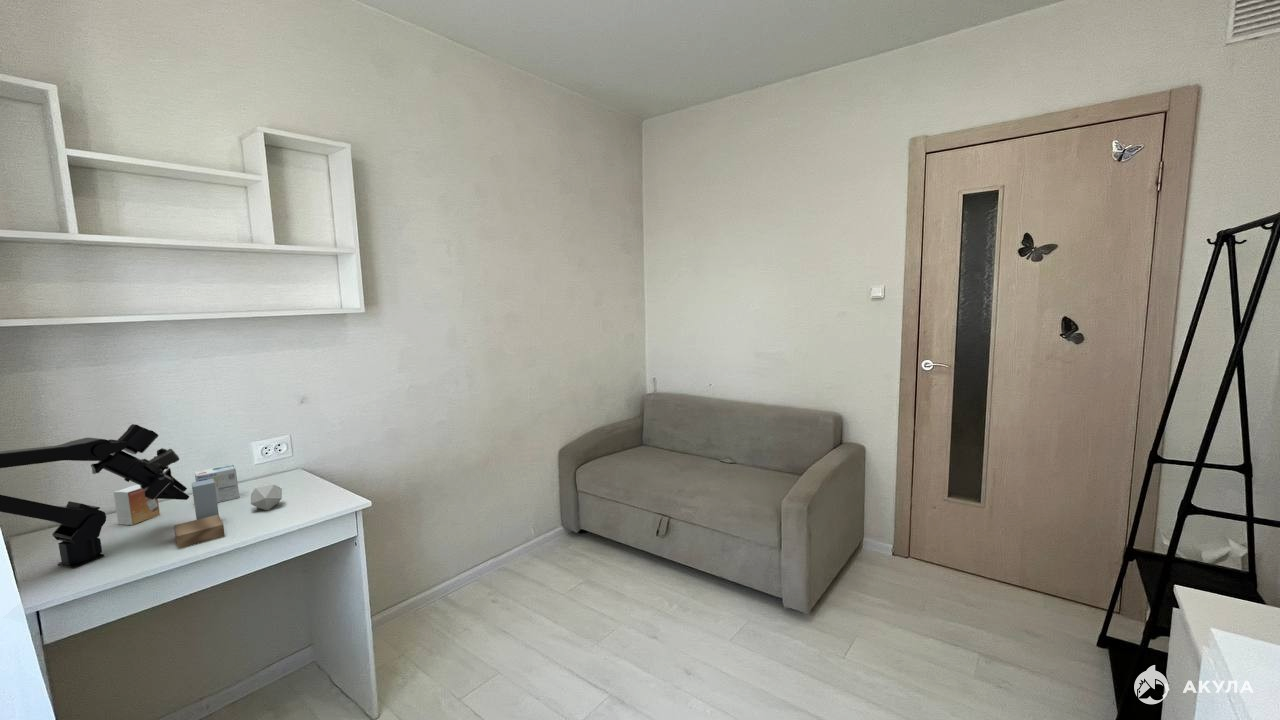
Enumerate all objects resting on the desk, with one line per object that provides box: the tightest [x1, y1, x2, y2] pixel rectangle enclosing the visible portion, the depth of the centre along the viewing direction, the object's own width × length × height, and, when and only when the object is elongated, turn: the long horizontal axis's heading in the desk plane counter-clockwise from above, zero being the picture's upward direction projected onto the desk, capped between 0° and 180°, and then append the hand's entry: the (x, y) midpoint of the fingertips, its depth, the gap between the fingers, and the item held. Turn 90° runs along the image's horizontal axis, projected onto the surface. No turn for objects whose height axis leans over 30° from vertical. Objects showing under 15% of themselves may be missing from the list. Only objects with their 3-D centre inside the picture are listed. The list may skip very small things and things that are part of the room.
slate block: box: [191, 479, 220, 520], centre depth 157 cm, size 5×5×13 cm
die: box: [250, 481, 283, 511], centre depth 169 cm, size 8×9×10 cm
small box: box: [113, 484, 161, 526], centre depth 161 cm, size 8×6×10 cm
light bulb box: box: [194, 463, 240, 504], centre depth 176 cm, size 11×7×11 cm, turn 134°
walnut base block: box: [173, 514, 226, 550], centre depth 149 cm, size 10×10×4 cm
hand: (187, 494), depth 154 cm, fingers open, 9 cm apart
